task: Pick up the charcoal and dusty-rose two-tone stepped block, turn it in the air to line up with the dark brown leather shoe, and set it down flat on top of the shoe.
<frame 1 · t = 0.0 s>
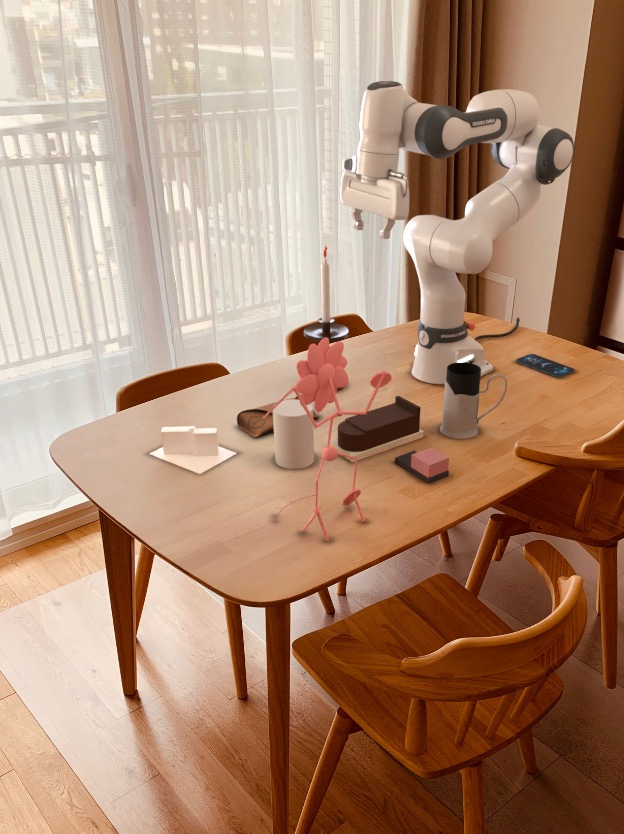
hand: (371, 233, 177), 39 cm above the table, tool pointing down, fingers open, 8 cm apart
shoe: (377, 442, 177), on the table
smartphone: (544, 367, 216), on the table
two-tone stepped block: (421, 469, 167), on the table
napkin holder: (193, 454, 171), on the table
figurine: (321, 517, 151), on the table
candlestick: (327, 386, 203), on the table
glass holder: (470, 431, 183), on the table
sunglasses case: (279, 423, 184), on the table
cup: (294, 460, 170), on the table
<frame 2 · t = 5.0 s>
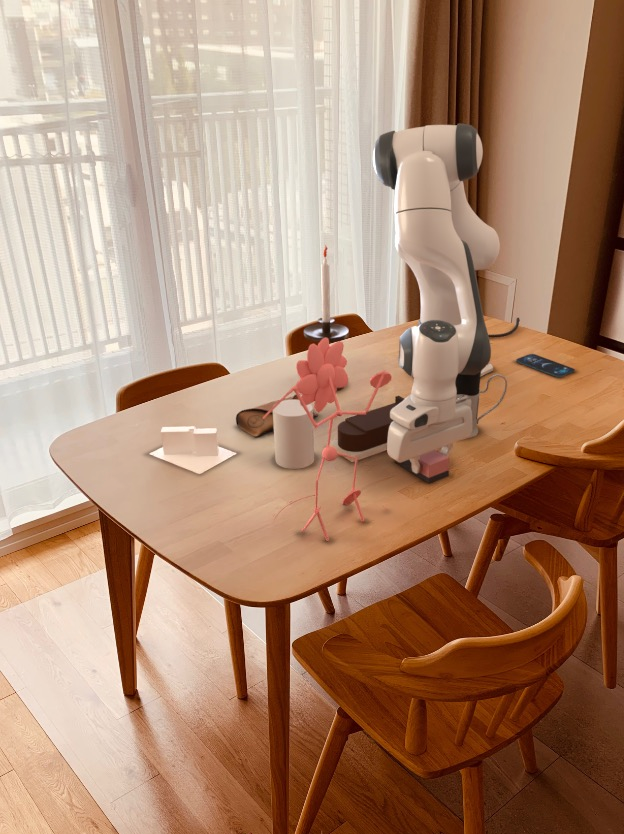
hand: (429, 467, 165), 2 cm above the table, tool pointing down, fingers closed on two-tone stepped block, 5 cm apart
two-tone stepped block: (421, 469, 167), on the table, touching gripper
everything else where it was.
when the fingers open (7 cm above the table, at t = 13.0 s): two-tone stepped block stays where it is, resting on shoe.
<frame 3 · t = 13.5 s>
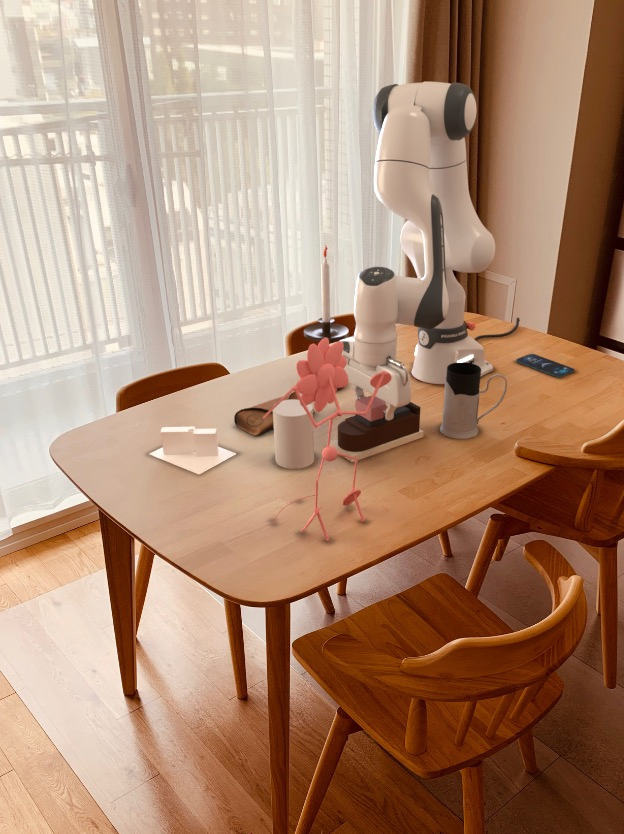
hand: (374, 411, 172), 8 cm above the table, tool pointing down, fingers open, 8 cm apart
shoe: (377, 442, 177), on the table, touching two-tone stepped block
two-tone stepped block: (382, 416, 174), point 6 cm above the table, touching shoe
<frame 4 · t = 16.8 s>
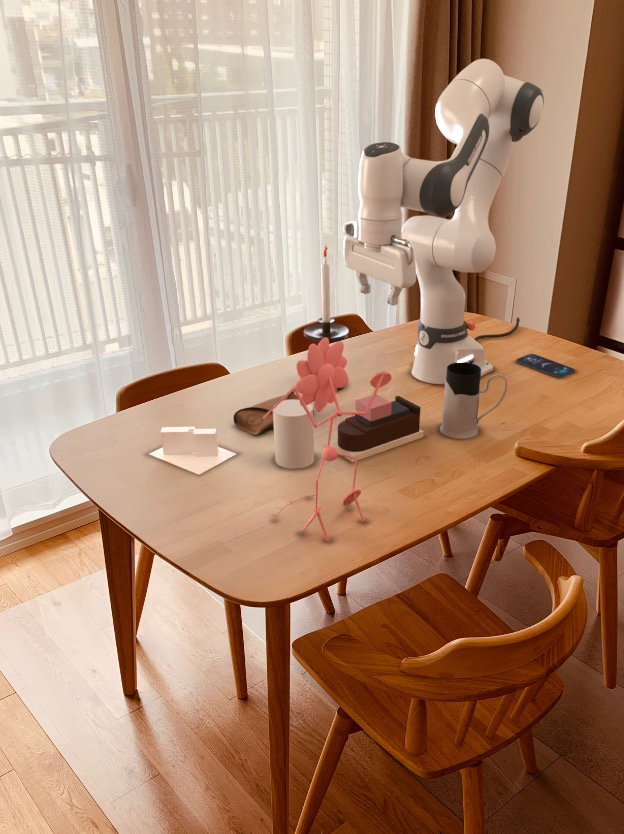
hand: (378, 298, 170), 29 cm above the table, tool pointing down, fingers open, 8 cm apart
at the end: two-tone stepped block 0.1 cm from the target spot on the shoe, point 6.0 cm above the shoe's base; two-tone stepped block tilted 0°; two-tone stepped block touching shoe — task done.
